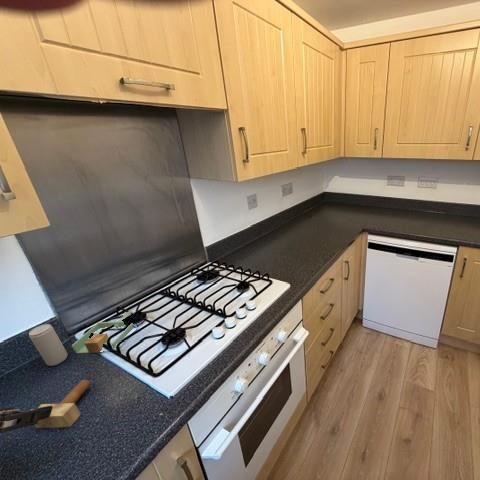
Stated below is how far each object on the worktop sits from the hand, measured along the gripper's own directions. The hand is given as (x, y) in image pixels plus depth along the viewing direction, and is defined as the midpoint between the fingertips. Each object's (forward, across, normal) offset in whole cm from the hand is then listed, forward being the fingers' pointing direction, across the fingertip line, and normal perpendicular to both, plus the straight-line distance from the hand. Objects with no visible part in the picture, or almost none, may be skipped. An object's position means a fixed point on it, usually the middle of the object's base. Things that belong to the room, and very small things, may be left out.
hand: (30, 412), depth 55 cm
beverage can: (+21, +18, -10) cm, 29 cm away
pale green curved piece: (+29, +8, -18) cm, 35 cm away
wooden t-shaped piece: (+5, 0, +3) cm, 6 cm away
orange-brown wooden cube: (+21, +8, -13) cm, 26 cm away
